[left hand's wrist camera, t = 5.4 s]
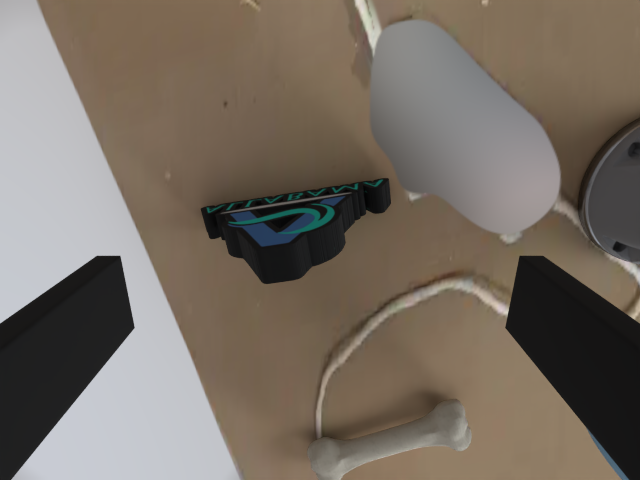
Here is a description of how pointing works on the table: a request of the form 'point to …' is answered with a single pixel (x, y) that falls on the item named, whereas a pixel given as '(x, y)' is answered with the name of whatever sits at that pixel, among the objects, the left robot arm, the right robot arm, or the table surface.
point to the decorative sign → (293, 226)
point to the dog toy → (391, 441)
